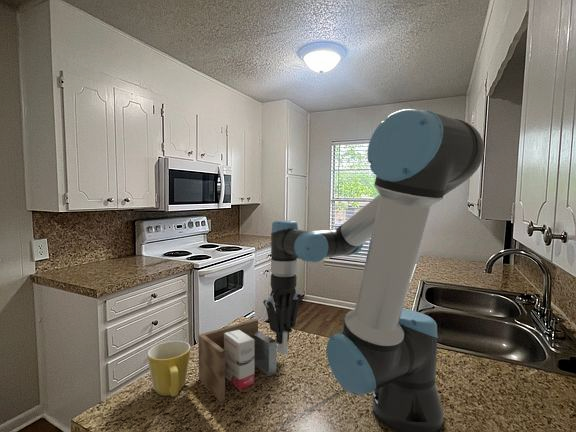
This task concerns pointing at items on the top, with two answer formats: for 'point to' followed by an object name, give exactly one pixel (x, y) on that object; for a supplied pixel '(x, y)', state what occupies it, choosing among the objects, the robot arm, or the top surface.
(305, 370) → the top surface
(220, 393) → the wooden corner frame
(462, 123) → the robot arm
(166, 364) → the mug
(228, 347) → the ink box
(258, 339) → the bookend
